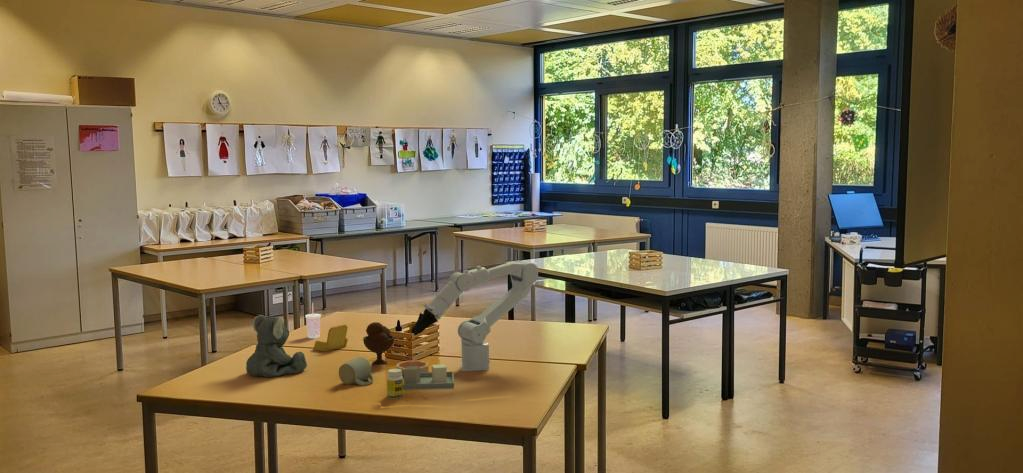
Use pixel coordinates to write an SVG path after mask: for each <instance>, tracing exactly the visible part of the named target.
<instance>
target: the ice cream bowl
mask: <svg viewBox="0 0 1023 473" xmlns="http://www.w3.org/2000/svg"><path fill="white" fill-rule="evenodd" d="M365 332H366V336H363V338H362V341H363V345H364V346H365V348H366V349H367V350H369V351H370V352H372V353H374V354H376V359H375V360H374V361H373V362H372V363H371V367H372V366H381V365H383V366H385V365H386V366H388V361H386V360H384V359H383V353H385V352H387V351H389V350H390V349H391V348H392V347H393V345H394V342H395V335H393V334H391V330H390V329H389V328H388V327H387V326H385V325H383V324H381V323H380V322H377V321H375V322H371V323H370V324H368V325H367V327H366V329H365Z"/></svg>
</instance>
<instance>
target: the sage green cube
mask: <svg viewBox="0 0 1023 473" xmlns="http://www.w3.org/2000/svg"><path fill="white" fill-rule="evenodd" d="M431 372H432V381H433V383H447V372H448V371H447V366H446V364H444V363H441V364H432V365H431Z"/></svg>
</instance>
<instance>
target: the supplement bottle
mask: <svg viewBox="0 0 1023 473" xmlns="http://www.w3.org/2000/svg"><path fill="white" fill-rule="evenodd" d="M387 375H388V376H387V378H386V393H387V394H386V397H387V398H388V399H392V400H396V399H401V398H404V391H403V377H402V376H401V375H402V370H401V369H396V368H391V369H388V370H387Z"/></svg>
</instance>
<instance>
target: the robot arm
mask: <svg viewBox="0 0 1023 473" xmlns="http://www.w3.org/2000/svg"><path fill="white" fill-rule="evenodd" d="M508 275H510V281H511V288H510V289H509V290H508V291H507V292H506V293H504V294H503V295H502V296H501V297H500V298H498V299H497V300H496V301H495V302H494V303H493V304H491V305H490V306H488V308H486V309H485V310H484V311H483V312H481V313H480V314H479V315H476V316H472V317H471V318H470V319H468V320H464V321H462V322H461V323H459V326H458V328H457V333H458V337H459V338H460V339H461V341H460V342H461V364H460V371H461V372H462V371H463V372H467V371H489V370H490V364H491V363H490V362H491V360H490V347H489V346H490V345H489V342H485V340H486V339H487V336H488V335H489V334H490V333H491V327H492V326H493V325H495V323H497V322H498V321H499V320H500V319H501V318H503V317H504V316H505V315H506V314H507V313H508V312H509V311H511V310H512V309H514V307H515V306H517V305H518V304H519V303H520V302H522V301H523V300H524V299H525V298H526V297H527V296H528V295H529V293H530V291H531V289H532V287H533V285H534V284H535V282H537V281H538V279H539V267H538V266H537V264H535V263H534V262H533V263H532V262H525V261H522V260H514V261H508V262H506V263H503V264H500V265H496V266H493V267H491V268H486V267H484V266H480V265H477V266H475V268H473V269H470V270H468V269H464V270H463V272H459V271H458V272H454V273H453V274H450V275H449V277H448V281H447V283H446V285H444V287H443V288H442V289H441V290H440V291H439V292H438V294H436V295H435V297H434V298H433V299H432V300H431V301H430V302H429V303H428V304H427V303H424V304H423V307H424V308H425V309H424V310H423V313H422V312H419V315H418V319H417V320H416V321H415V324H414V325H413V327H412V329H411V331H410V332H411V333H412V334H413V335H414V336H417V335H419V334H421V333H423V332H424V331H425V330H426V329H427V328H429V327H431V326H432V325H434V324H436V323H438V322H439V320H440V319H441V318H442V316H443V315H444V314H445V313H446V311H447V310H448V309H449V308H450V307H451V306H452V305H453V304H454V303H455V301H456V300H458V298H459V297H460V296H461V295H462V293H463V292H468V291H470V290H471V288H475V287H478V286H482V285H485V284H488V282H489V281H490V279H495V278H501V277H503V276H508Z"/></svg>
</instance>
